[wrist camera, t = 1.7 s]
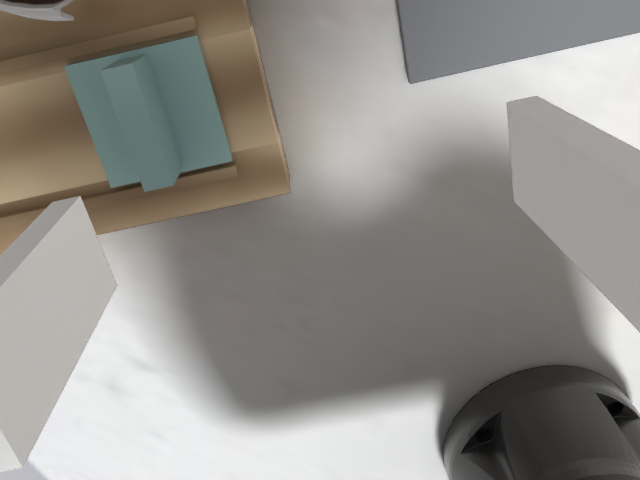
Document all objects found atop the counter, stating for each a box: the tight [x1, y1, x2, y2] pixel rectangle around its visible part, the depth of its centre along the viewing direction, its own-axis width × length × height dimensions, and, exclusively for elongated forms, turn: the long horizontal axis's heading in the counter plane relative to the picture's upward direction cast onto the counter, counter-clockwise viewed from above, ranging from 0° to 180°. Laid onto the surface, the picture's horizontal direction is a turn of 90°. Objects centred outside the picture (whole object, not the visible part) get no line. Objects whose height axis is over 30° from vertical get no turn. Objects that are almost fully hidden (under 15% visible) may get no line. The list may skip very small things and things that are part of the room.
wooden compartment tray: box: [0, 0, 290, 255], centre depth 30 cm, size 24×18×4 cm
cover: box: [64, 35, 233, 192], centre depth 30 cm, size 7×7×4 cm
